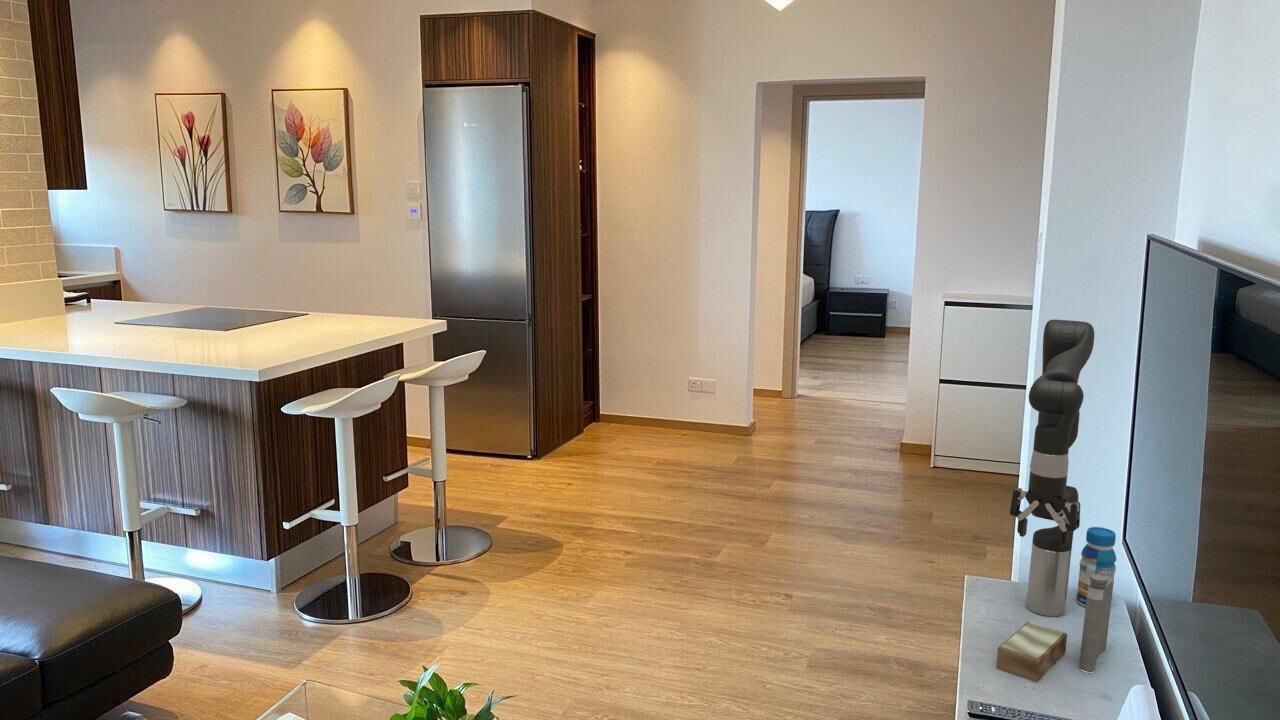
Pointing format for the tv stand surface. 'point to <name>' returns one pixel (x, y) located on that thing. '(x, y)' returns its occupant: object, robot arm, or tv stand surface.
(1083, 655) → the hip flask
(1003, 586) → the tv stand surface
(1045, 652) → the walnut plinth
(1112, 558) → the beverage bottle
